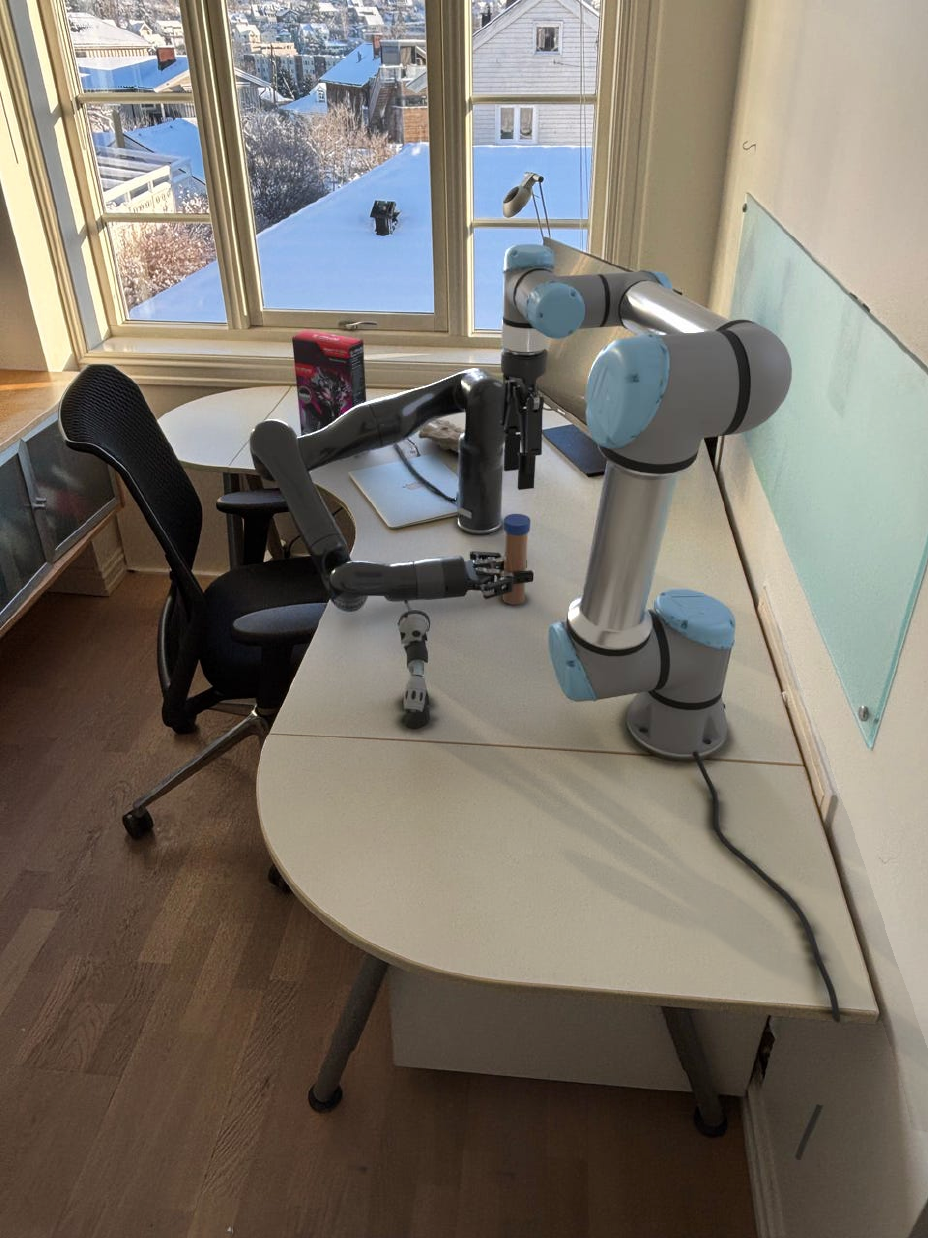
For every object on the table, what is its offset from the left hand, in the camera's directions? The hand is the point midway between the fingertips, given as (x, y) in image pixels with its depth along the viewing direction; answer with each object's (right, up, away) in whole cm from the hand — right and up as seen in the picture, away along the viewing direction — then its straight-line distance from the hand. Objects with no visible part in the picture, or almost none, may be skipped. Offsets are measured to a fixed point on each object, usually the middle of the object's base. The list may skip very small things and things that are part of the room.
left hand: (529, 569), depth 171 cm
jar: (-3, -5, +3) cm, 7 cm away
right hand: (-3, +15, -10) cm, 19 cm away
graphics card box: (-45, +35, +62) cm, 84 cm away
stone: (-14, +33, +61) cm, 71 cm away
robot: (-20, -24, -25) cm, 40 cm away
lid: (-3, +8, -6) cm, 11 cm away
